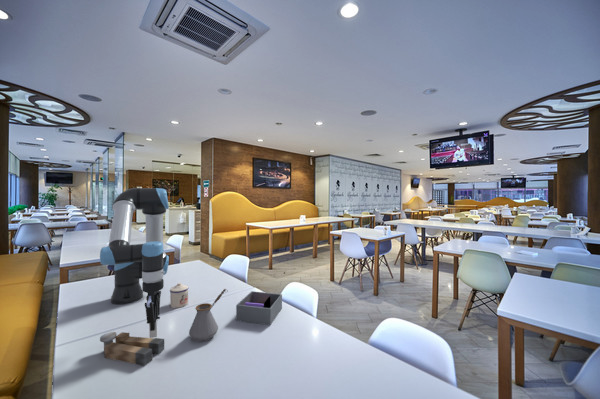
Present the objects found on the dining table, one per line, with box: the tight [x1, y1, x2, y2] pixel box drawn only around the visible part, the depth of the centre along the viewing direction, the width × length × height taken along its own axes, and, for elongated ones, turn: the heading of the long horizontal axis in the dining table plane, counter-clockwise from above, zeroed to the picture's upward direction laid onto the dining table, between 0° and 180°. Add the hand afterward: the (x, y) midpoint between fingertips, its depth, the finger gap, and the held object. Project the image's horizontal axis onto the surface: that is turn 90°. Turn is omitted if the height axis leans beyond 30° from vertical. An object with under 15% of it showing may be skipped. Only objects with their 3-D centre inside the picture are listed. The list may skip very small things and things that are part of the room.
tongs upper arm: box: [99, 331, 165, 355], centre depth 95 cm, size 23×6×6 cm, turn 83°
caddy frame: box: [235, 290, 283, 326], centre depth 125 cm, size 17×17×8 cm
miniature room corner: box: [245, 297, 270, 308], centre depth 127 cm, size 12×12×7 cm
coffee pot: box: [188, 288, 228, 343], centre depth 110 cm, size 21×12×15 cm, turn 161°
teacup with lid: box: [169, 282, 189, 309], centre depth 137 cm, size 12×9×12 cm
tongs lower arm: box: [103, 339, 153, 367], centre depth 92 cm, size 22×5×4 cm, turn 76°
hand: (153, 336), depth 103 cm, fingers closed
